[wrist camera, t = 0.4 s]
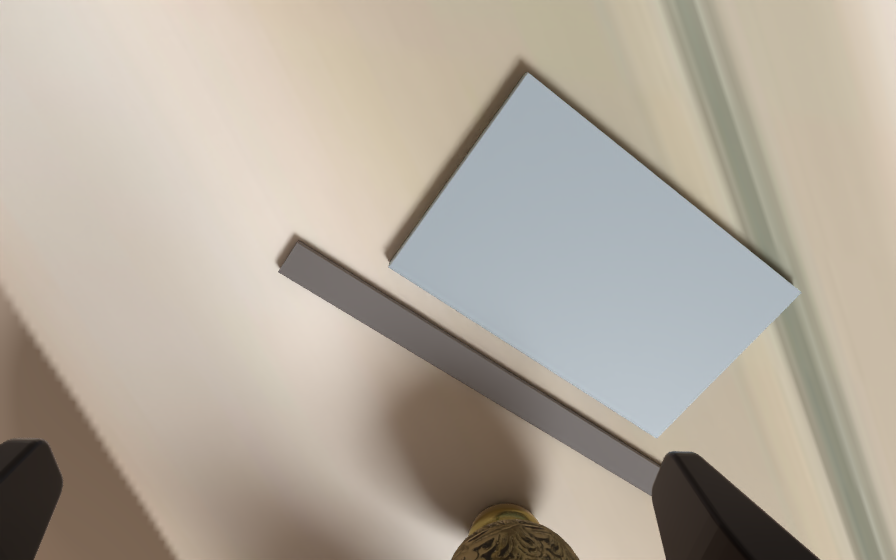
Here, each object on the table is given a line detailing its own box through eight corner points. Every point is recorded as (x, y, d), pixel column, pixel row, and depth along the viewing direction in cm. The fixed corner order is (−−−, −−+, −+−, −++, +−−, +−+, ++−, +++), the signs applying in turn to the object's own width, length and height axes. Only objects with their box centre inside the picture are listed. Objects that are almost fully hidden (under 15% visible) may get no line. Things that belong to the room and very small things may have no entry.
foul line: (665, 501, 28) (667, 505, 28) (279, 269, 22) (278, 272, 22) (685, 481, 28) (688, 485, 27) (298, 240, 22) (297, 242, 22)
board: (652, 431, 26) (656, 438, 26) (389, 263, 23) (388, 267, 22) (794, 288, 24) (801, 292, 23) (525, 72, 20) (528, 72, 20)
